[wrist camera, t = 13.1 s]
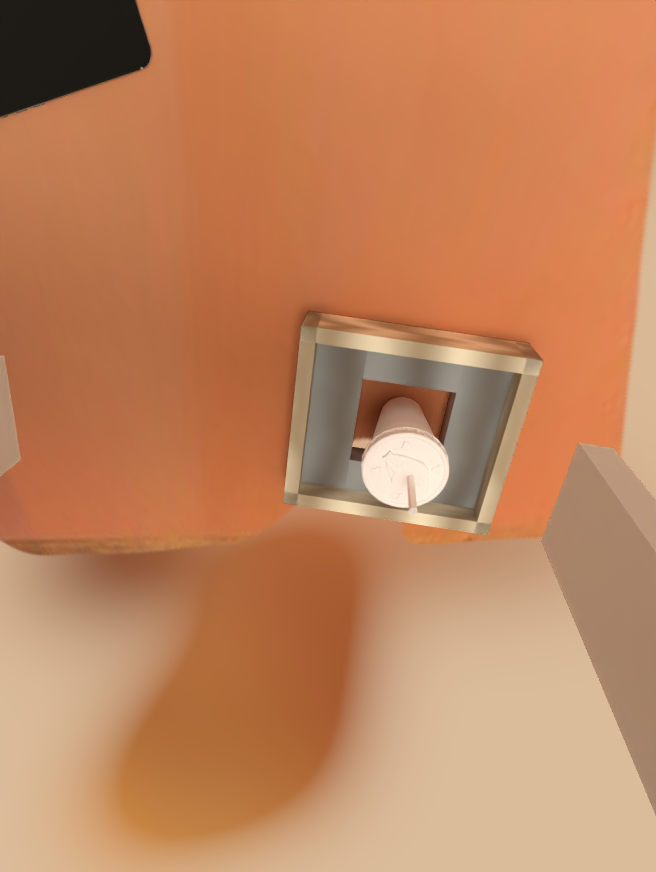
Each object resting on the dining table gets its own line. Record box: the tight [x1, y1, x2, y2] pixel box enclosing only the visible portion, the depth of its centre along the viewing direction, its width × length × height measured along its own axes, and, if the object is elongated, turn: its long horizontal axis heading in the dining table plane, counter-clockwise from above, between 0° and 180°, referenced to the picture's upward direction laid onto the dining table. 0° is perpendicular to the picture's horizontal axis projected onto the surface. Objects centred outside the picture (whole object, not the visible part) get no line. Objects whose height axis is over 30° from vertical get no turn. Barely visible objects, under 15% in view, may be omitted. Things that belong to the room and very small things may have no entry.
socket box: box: [283, 311, 543, 535], centre depth 45 cm, size 18×16×4 cm
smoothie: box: [361, 397, 449, 515], centre depth 41 cm, size 6×6×14 cm
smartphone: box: [0, 0, 152, 118], centre depth 37 cm, size 7×1×15 cm
